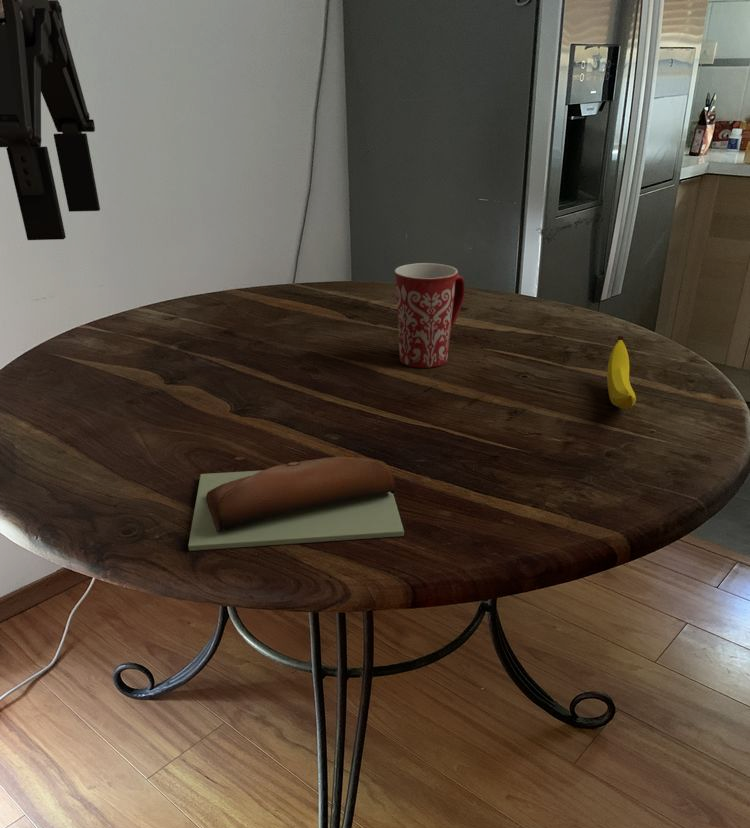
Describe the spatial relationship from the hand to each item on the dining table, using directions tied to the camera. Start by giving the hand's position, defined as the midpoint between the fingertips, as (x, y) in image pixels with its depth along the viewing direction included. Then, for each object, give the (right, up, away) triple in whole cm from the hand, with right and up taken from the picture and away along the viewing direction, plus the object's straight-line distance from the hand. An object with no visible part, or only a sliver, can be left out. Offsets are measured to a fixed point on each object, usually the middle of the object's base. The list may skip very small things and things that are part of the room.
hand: (67, 224), depth 63 cm
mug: (+35, -2, +49) cm, 61 cm away
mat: (+18, -24, +11) cm, 33 cm away
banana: (+59, -11, +34) cm, 69 cm away
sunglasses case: (+19, -24, +11) cm, 32 cm away
